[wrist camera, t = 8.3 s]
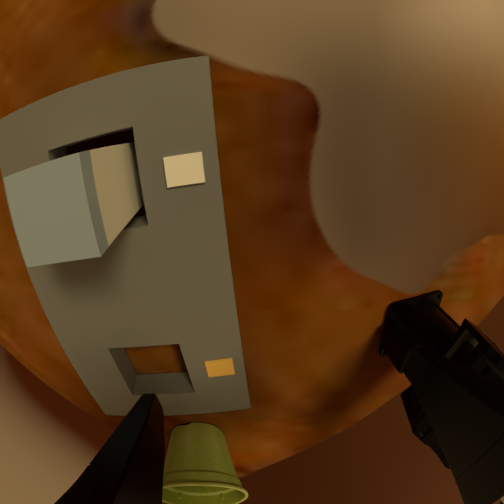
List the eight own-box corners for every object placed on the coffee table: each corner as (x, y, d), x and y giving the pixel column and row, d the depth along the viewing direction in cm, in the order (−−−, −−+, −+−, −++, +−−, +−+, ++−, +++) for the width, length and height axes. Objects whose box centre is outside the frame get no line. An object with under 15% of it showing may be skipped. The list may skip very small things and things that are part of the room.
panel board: (209, 66, 14) (208, 54, 12) (247, 387, 25) (251, 409, 22) (16, 120, 13) (-7, 121, 10) (110, 396, 24) (105, 416, 21)
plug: (134, 141, 15) (78, 152, 8) (144, 204, 17) (101, 256, 10) (78, 155, 15) (3, 177, 8) (89, 213, 17) (27, 267, 9)
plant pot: (166, 404, 25) (162, 479, 17) (251, 420, 27) (264, 488, 20) (150, 441, 28) (147, 501, 20) (222, 454, 30) (228, 510, 22)
